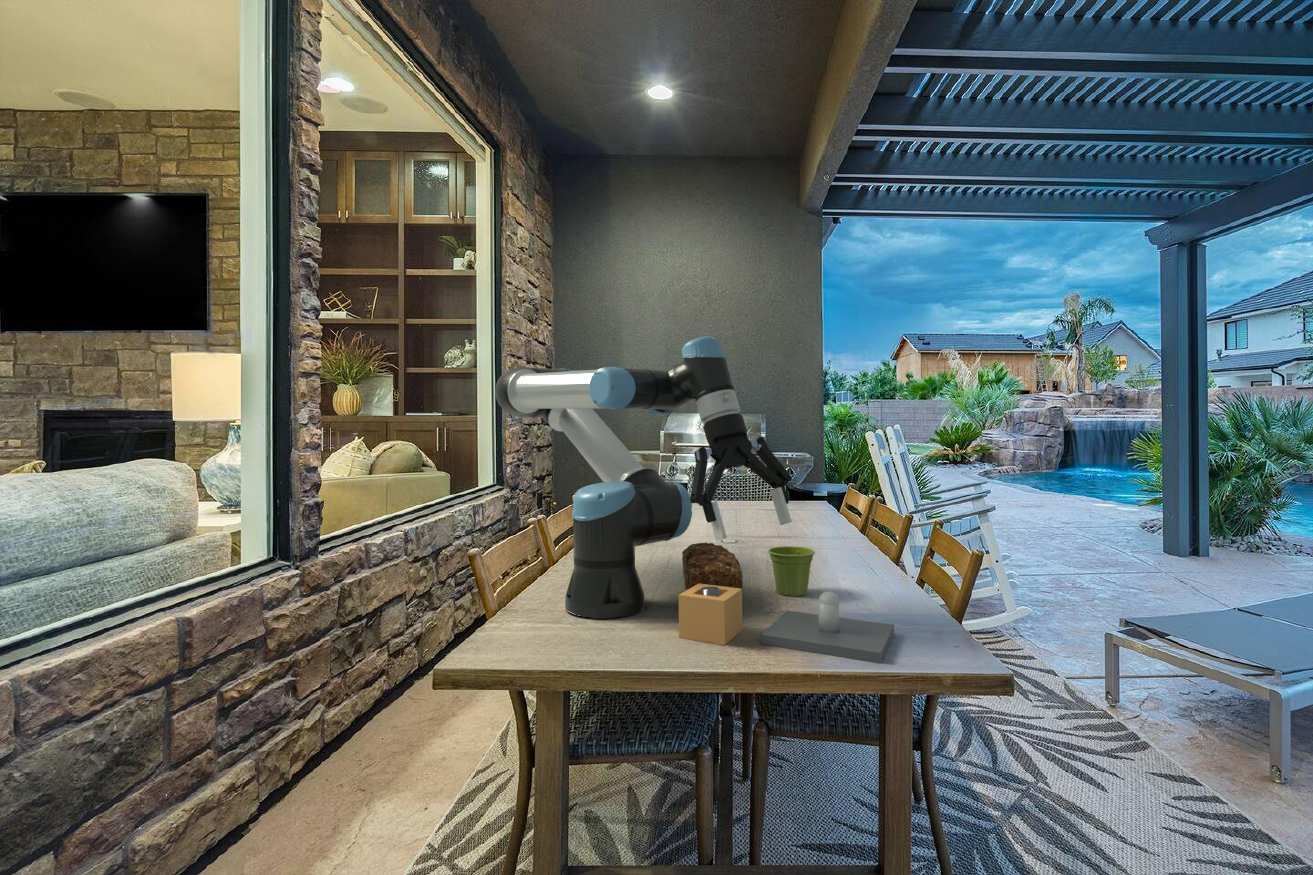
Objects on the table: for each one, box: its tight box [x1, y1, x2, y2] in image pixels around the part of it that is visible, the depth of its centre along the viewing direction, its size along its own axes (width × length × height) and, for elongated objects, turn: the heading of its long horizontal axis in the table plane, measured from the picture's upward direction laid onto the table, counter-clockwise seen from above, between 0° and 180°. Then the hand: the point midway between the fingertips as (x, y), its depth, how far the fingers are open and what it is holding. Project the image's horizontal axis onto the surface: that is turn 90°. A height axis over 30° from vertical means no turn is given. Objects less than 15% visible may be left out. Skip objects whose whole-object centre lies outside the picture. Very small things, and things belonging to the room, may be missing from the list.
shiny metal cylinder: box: [702, 587, 719, 597], centre depth 106 cm, size 3×3×8 cm
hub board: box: [760, 591, 895, 664], centre depth 102 cm, size 18×14×8 cm
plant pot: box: [767, 545, 816, 597], centre depth 130 cm, size 9×9×9 cm
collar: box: [678, 584, 743, 646], centre depth 106 cm, size 8×8×7 cm
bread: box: [681, 542, 744, 601], centre depth 126 cm, size 19×11×10 cm, turn 1°
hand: (754, 531), depth 113 cm, fingers open, 13 cm apart
